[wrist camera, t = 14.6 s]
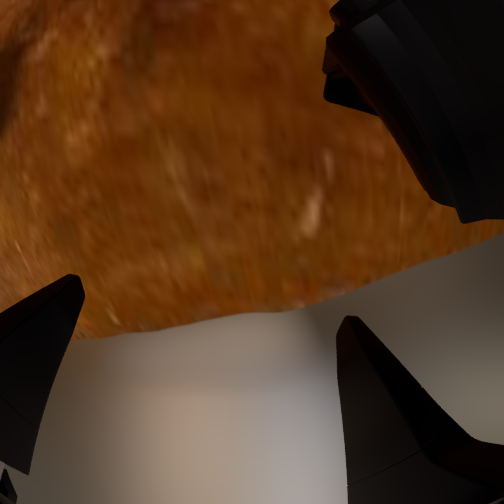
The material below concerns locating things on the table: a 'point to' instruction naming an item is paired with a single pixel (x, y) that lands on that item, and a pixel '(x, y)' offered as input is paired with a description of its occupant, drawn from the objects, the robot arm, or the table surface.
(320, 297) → the table surface
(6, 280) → the table surface
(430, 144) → the robot arm
